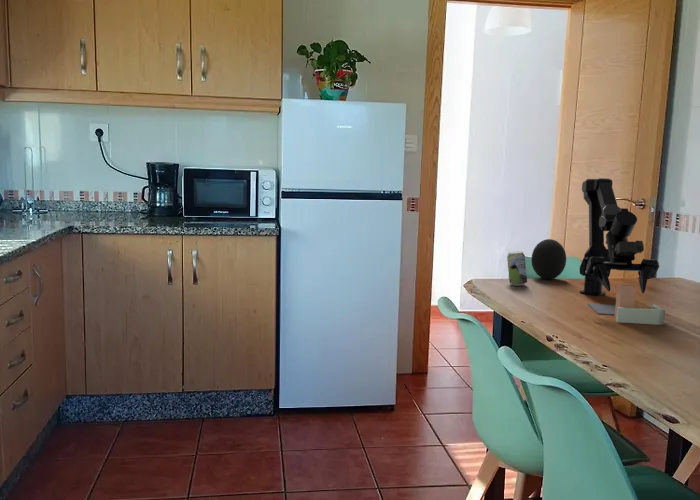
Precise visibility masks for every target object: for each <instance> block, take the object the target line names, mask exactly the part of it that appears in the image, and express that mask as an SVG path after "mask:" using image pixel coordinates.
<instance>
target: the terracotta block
mask: <svg viewBox="0 0 700 500" xmlns="http://www.w3.org/2000/svg"><path fill="white" fill-rule="evenodd" d="M636 294H637V287H636V286H634V285H632V284H617V286H616V295H615V297H616V298H615V305H616V306H615V315H614V318H615V319H616V315H617V307H623V308H635V306H636V296H637V295H636Z"/></svg>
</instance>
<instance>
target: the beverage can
mask: <svg viewBox="0 0 700 500" xmlns="http://www.w3.org/2000/svg"><path fill="white" fill-rule="evenodd" d="M506 258H507V269H508V270H507V271H508V279H509V280H508V281H509V284H510V285H512V286H524V285H526V283H528V276H527V275H528V274H527V265H526V263H527V262H526V255H525V254H524V252H523V251H519V250H518V251H517V250H516V251H511V252H508V255H507V257H506Z"/></svg>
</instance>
